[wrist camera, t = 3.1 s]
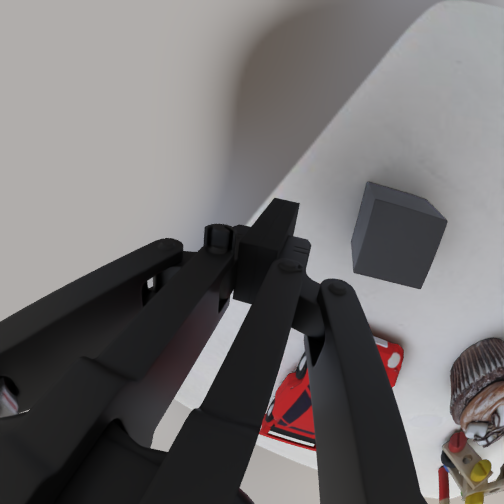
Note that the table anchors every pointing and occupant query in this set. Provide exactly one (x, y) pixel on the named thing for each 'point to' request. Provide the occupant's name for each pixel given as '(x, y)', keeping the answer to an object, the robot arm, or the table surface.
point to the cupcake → (479, 391)
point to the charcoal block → (395, 236)
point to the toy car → (299, 399)
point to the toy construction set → (466, 472)
